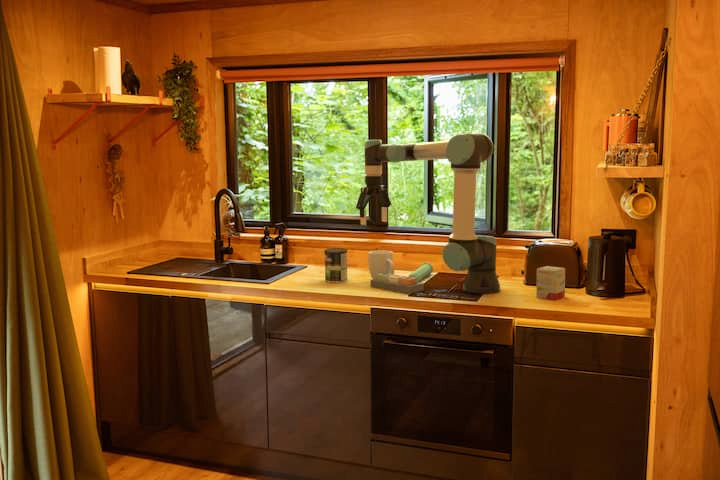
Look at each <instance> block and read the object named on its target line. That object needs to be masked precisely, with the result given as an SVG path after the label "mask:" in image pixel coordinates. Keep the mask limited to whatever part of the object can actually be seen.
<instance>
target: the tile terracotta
mask: <svg viewBox="0 0 720 480" xmlns="http://www.w3.org/2000/svg"><path fill="white" fill-rule="evenodd" d="M408 276H409V275H407V276H405V277H403V278H400V284H403V285H408V286H410V285H414V284H417V278H414V277H408Z"/></svg>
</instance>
